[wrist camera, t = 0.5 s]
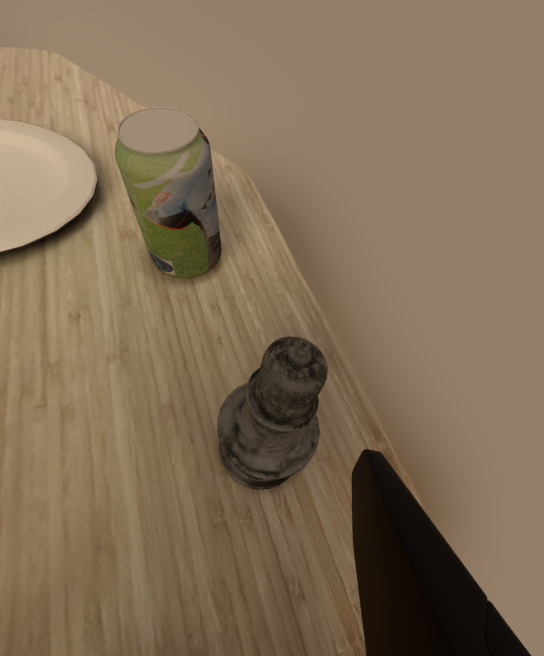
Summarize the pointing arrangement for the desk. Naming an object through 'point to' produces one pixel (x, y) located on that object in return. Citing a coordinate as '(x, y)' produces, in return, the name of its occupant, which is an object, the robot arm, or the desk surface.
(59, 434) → the desk surface
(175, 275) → the beverage can
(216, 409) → the desk surface
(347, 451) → the desk surface
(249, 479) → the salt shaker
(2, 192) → the plate
